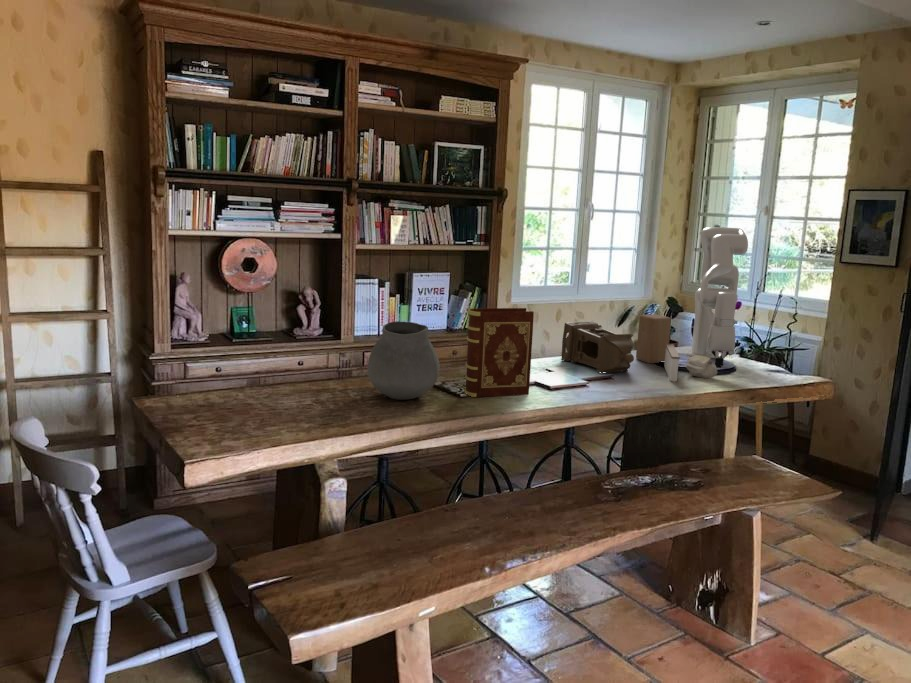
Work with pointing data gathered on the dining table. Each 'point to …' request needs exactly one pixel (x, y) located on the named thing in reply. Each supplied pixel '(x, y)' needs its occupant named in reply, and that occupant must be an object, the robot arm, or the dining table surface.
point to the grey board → (671, 362)
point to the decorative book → (499, 351)
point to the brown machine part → (597, 347)
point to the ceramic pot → (403, 361)
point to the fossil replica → (701, 367)
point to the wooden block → (653, 338)
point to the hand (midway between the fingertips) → (718, 367)
